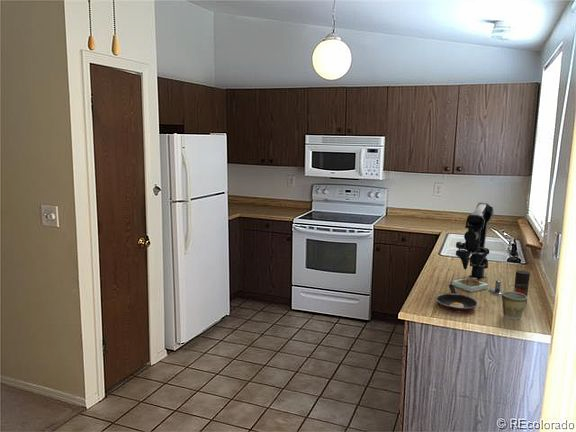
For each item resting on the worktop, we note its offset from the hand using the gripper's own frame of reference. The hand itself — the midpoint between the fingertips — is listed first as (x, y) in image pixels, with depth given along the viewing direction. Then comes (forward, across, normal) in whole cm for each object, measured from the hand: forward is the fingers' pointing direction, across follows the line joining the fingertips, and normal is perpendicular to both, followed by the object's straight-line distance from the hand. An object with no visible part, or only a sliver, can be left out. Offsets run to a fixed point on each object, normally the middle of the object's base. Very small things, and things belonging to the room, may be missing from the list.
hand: (471, 268), depth 245 cm
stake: (+10, -6, +12) cm, 17 cm away
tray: (+10, 0, 0) cm, 10 cm away
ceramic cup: (+11, +14, +36) cm, 40 cm away
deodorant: (+11, -4, +26) cm, 28 cm away
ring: (+9, 0, 0) cm, 9 cm away
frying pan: (+11, +23, +11) cm, 28 cm away
